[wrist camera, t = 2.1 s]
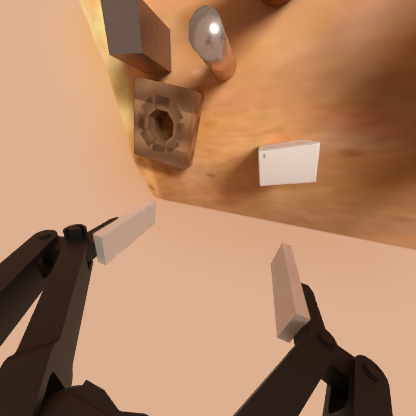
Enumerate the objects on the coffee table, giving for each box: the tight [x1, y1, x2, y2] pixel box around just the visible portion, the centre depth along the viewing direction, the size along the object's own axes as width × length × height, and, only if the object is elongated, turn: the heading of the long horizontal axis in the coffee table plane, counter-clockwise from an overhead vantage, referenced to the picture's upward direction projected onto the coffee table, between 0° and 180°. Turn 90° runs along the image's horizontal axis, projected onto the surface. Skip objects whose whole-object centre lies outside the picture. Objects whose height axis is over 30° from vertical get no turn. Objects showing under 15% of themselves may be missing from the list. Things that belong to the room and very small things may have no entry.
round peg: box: [189, 5, 236, 80], centre depth 24 cm, size 4×4×12 cm
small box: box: [258, 139, 320, 186], centre depth 28 cm, size 8×6×10 cm
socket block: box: [134, 76, 204, 169], centre depth 34 cm, size 14×12×5 cm
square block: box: [101, 0, 171, 73], centre depth 27 cm, size 6×6×9 cm
